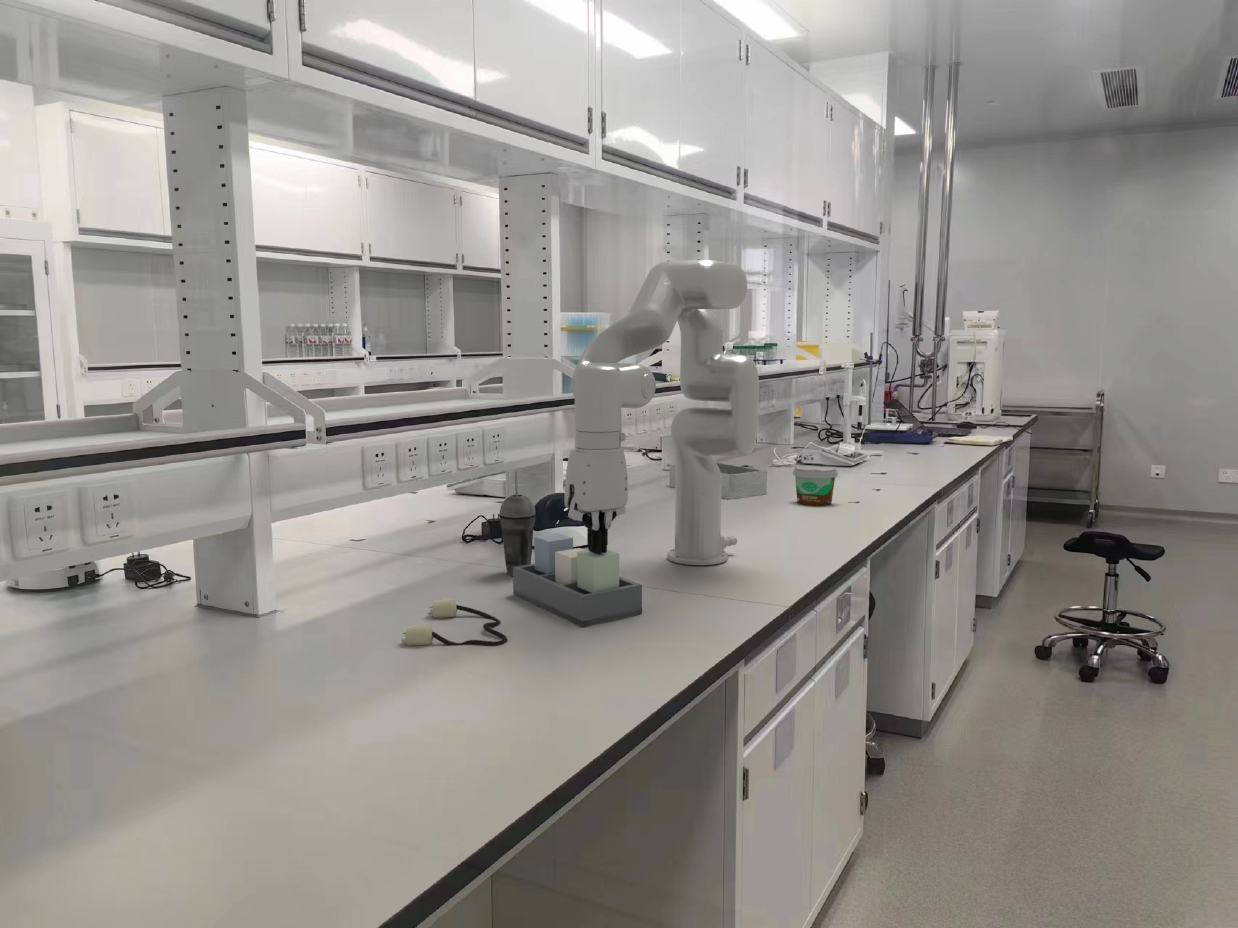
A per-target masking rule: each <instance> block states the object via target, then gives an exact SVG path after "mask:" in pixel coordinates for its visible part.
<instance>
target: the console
mask: <svg viewBox="0 0 1238 928" xmlns="http://www.w3.org/2000/svg"><path fill="white" fill-rule="evenodd" d="M512 587H513V588H512V589H513V594H512V595H513V596H516V597H518V598H520V599H522V600H524V601H526V602H528V603H531V604H533V605H534V606H537V607H539V608H541V609H542V610H545V611H547V612H549V613H551V614H554V615H555V616H558V617H559V618H562V619H564V620H566V621H568V622H570V623H573V624H575V625H577V626H579V627H581V628H586V627H588V626H589V627H591V626H594V625H600V624H602V623H607V622H612V621H616V620H619V619H625V618H630V617H634V616H638V615H642V614H643V584H642V583H639V582H636V581H634V580H630V579H627V578H624V577H622V576H620V575H619V587H618V588H614V589H609V590H604V591H599V592H594V593H591V592H589V591H586V590H584V589H581V588H579V587H577V581H575V582H570V583H564V584H558V583H556V582H555V573H550V574H545V573H543V572H540V571H538V570H536V569H535V563H531V564H530V565H524V566H518V567H513V576H512Z"/></svg>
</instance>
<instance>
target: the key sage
mask: <svg viewBox="0 0 1238 928" xmlns="http://www.w3.org/2000/svg"><path fill="white" fill-rule="evenodd" d="M585 550H586V551H580V552H577V587H579V588H581V589H584V590H586V591H589V592H591V593H594V592H599V591H604V590H609V589H614V588H618V587H619V576H620V553H619V552H616V551H613V550H611V549H607V552H606V553H601V554H596V553H593V552H591V551H589V550H588V549H585Z"/></svg>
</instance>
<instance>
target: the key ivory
mask: <svg viewBox="0 0 1238 928" xmlns="http://www.w3.org/2000/svg"><path fill="white" fill-rule="evenodd" d="M586 550H587V549H583V548H581V547H578V548H576V547H575V548H573V549H570V550H564V551H558V552H555V582H556V583H558V584H564V583H570V582H575V581H577V552H580V551H586Z"/></svg>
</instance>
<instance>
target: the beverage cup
mask: <svg viewBox="0 0 1238 928" xmlns="http://www.w3.org/2000/svg"><path fill="white" fill-rule="evenodd" d="M518 480H519V479H518V471H514V491H515V492H514V493H515V494H512V495H509V496H508V497H506V498H505V499H504V501H503V502H502V503H501V505H500V508H499V514H498V518H499V522H500V526H501V531H502V541H503V542H502V543H503V550H504V551H503V552H504V561H505V562H504V563H505V567H506V574H507V575H508V576H511V577H513V567H518V566H524V565H530V564H532V554H533V553H532V552H533V539H534V527H535V523H536V517H537V513H536V508H535V505H534V503H533V502H532V500H531V499H530V498H528V497H527V496H525V495H523V494H519V487H518V485H519V483H518Z"/></svg>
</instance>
